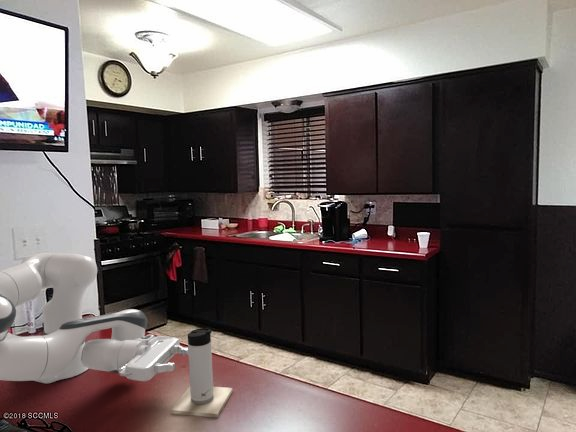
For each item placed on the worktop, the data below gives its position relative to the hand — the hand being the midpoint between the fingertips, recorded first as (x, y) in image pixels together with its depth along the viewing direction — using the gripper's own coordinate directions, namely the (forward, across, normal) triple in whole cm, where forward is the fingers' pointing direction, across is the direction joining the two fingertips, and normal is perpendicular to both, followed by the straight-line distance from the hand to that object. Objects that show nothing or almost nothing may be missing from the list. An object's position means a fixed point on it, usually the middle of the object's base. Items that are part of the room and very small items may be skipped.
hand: (181, 359), depth 117 cm
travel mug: (+6, -1, +11) cm, 13 cm away
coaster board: (+6, 0, +12) cm, 13 cm away
